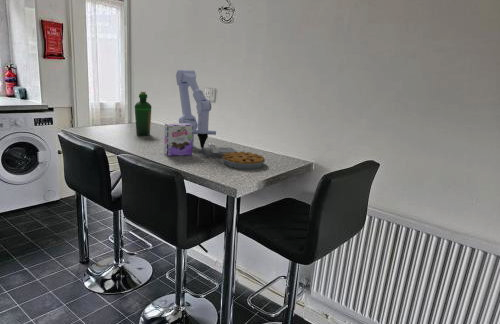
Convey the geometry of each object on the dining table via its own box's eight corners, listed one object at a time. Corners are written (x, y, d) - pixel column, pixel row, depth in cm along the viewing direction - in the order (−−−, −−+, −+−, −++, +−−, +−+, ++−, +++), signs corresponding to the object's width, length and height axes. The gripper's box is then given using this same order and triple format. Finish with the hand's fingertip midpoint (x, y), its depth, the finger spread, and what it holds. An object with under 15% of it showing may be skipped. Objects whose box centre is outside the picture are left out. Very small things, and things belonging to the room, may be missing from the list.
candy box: (166, 156, 176) (167, 124, 172) (163, 153, 181) (164, 123, 177) (192, 155, 182) (193, 124, 178) (189, 152, 187) (189, 123, 183)
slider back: (209, 149, 189) (209, 144, 188) (207, 147, 193) (208, 142, 192) (214, 149, 190) (215, 144, 189) (213, 147, 194) (213, 142, 193)
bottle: (155, 135, 227) (155, 92, 220) (142, 137, 218) (142, 92, 211) (144, 132, 232) (144, 91, 225) (131, 134, 224) (130, 91, 217)
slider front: (213, 153, 181) (213, 147, 180) (211, 151, 185) (211, 145, 184) (218, 153, 182) (218, 147, 181) (216, 151, 186) (217, 145, 185)
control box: (206, 157, 179) (207, 154, 179) (201, 150, 194) (201, 147, 193) (239, 157, 185) (239, 153, 185) (231, 150, 200) (231, 147, 199)
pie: (230, 171, 159) (230, 161, 158) (215, 159, 178) (216, 150, 177) (271, 169, 168) (272, 159, 167) (253, 158, 187) (254, 149, 186)
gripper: (191, 123, 180) (190, 148, 184) (217, 124, 185) (216, 148, 188) (189, 121, 187) (188, 145, 190) (214, 122, 192) (213, 146, 195)
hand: (202, 147), depth 190 cm, fingers closed
